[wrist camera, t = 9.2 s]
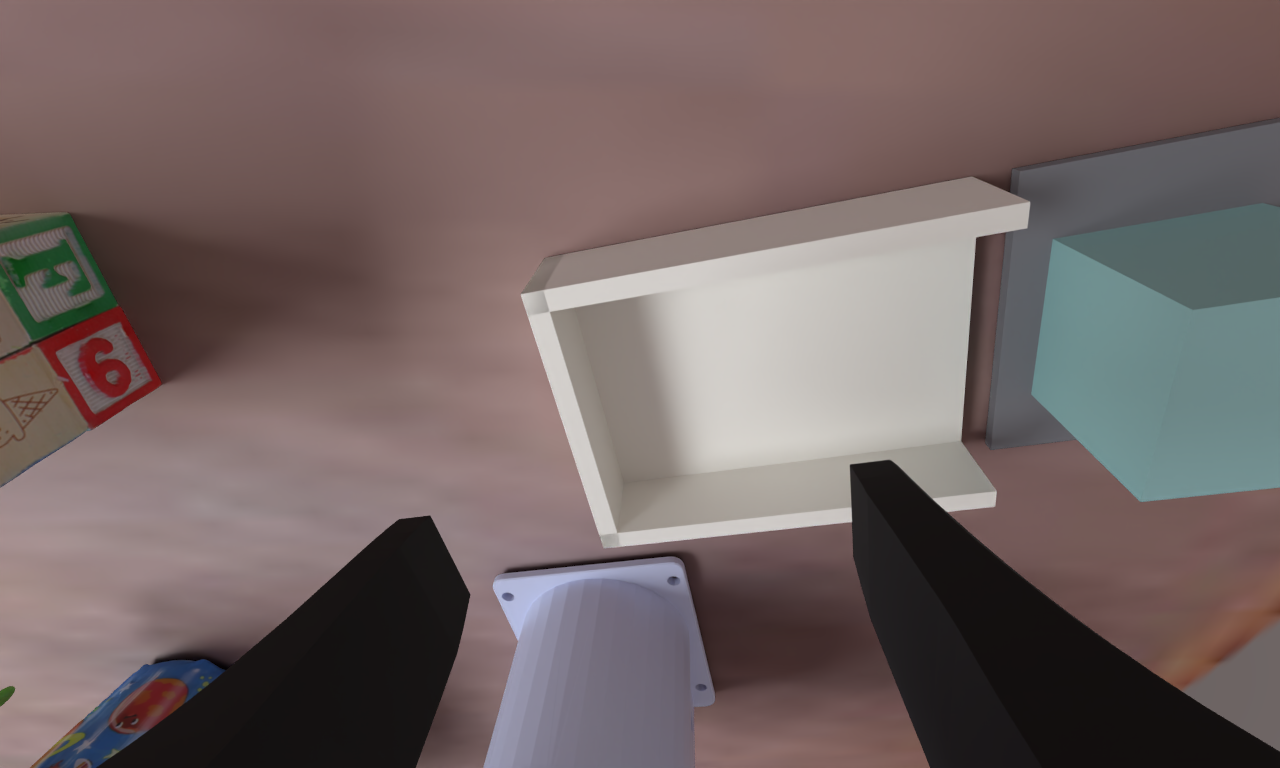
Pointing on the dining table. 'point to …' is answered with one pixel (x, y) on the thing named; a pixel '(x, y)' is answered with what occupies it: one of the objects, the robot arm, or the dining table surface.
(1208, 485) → the teal block
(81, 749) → the snack cup
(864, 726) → the dining table surface
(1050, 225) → the charcoal mat
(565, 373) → the open box
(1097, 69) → the dining table surface
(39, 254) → the stack of blocks
